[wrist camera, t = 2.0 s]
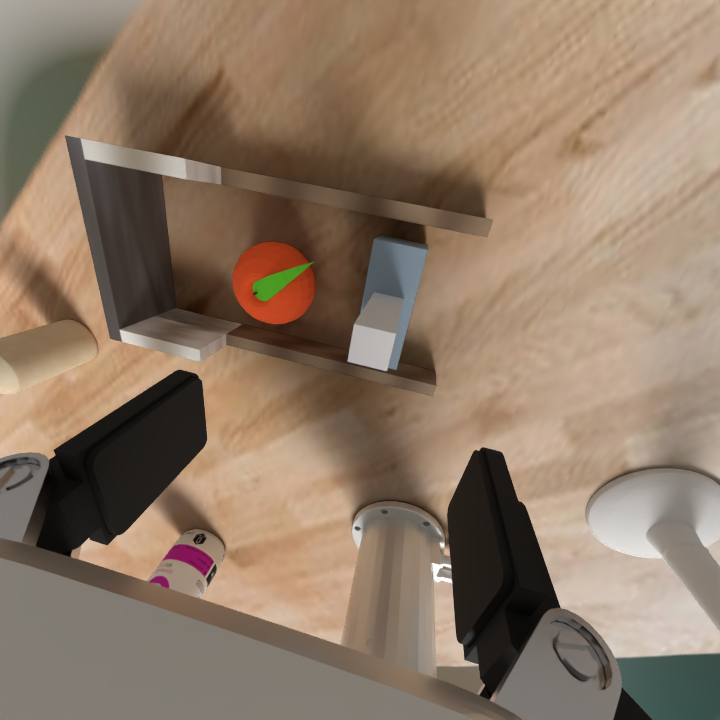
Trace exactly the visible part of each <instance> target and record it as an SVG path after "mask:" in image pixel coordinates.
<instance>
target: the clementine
mask: <svg viewBox="0 0 720 720" xmlns="http://www.w3.org/2000/svg"><path fill="white" fill-rule="evenodd" d="M312 263H314V262H311V263H309V262H308V261H307V260H306V258H305V257H304V256H303V255H302V254H301V253H300V252H299V251H298V250H297V249H295V248H293V247H291V246H289V245H287V244H284V243H278V242H272V241H271V242H262V243H259V244H257V245H255V246H253V247H251V248H249V249H247V250H246V251H245V252H244V253H243V254H242V255H241V256H240V258H239V260H238V262H237V264H236V266H235V268H234V272H233V276H232V278H233V289H234V292H235V296H236V298H237V300H238V301H239V303H240V305H241V306H242V307H243V309H244V310H245V311H246V312H247V313H248V314H250V315H251V316H252V317H253V318H255V319H258V320H260V321H262V322H266V323H271V324H285V323H288V322H291V321H293V320H296V319H297V318H299V317H300V316H302V315H303V314H304V313H305V312H306V310H307V309H308V308H309V306H310V305H311V303H312V301H313V298H314V296H315V289H316V282H315V276H314V273H313V270H312V268H311V264H312Z"/></svg>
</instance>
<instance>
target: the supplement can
mask: <svg viewBox="0 0 720 720" xmlns="http://www.w3.org/2000/svg"><path fill="white" fill-rule="evenodd" d="M224 557H225V551H224V545H223V543H222V542H221V541H220V539H219V538H217V537H216V536H215V535H213V534H212V533H210V532H208V531H205V530H202V529H193V530H189V531H186V532H184V533H183V534H182V535H181V536H180V538H179V539H178V540H177V542H176V543H175V544H174V546H173V547H172V548H171V550H170V551H169V552H168V554H167V555H166V556H165V558H164V559H163V560H162V562H161V563H160V564H159V566H158V567H157V568H156V570H155V571H154V572H153V574H152V575H151V576H150V578H149V579H148V580H147V582H150V583H153V584H156V585H160V586H163V587H166V588H169V589H172V590H175V591H178V592H181V593H184V594H187V595H190V596H193V597H196V598H199V599H201V597H202V596H203V594H204V592H205V591H206V589H207V587H208V585H209V584H210V582H211V580H212V578H213V577H214V575H215V573H216V572H217V570H218V568H219V566H220V565H221V563H222V561H223V560H224Z"/></svg>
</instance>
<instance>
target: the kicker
mask: <svg viewBox="0 0 720 720" xmlns="http://www.w3.org/2000/svg"><path fill="white" fill-rule="evenodd" d="M427 252H428V246H427V244H422V243H417V242H412V241H408V240H403V239H398V238H393V237H388V236H383V235H380V236H378V237H376V238H374V240H373V245H372V251H371V256H370V262H369V267H368V273H367V278H366V284H365V289H364V295H363V300H362V306H361V311H360V315H359V317H358V319H357V320H356V322H355V323H354V327H353V333H352V338H351V344H350V350H349V355H348V361H347V362H351V363H355V364H359V365H363V366H367V367H371V368H375V369H379V370H383V371H387V369H388V368H391V369H395V370H397V366H398V362H399V358H400V354H401V351H402V347H403V343H404V339H405V335H406V332H407V328H408V324H409V320H410V316H411V313H412V309H413V305H414V301H415V297H416V294H417V290H418V286H419V282H420V278H421V274H422V271H423V267H424V263H425V259H426V255H427Z"/></svg>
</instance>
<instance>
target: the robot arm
mask: <svg viewBox="0 0 720 720" xmlns="http://www.w3.org/2000/svg"><path fill="white" fill-rule="evenodd" d="M206 441H207V431H206V420H205V408H204V397H203V386H202V381H201V380H200V379H199V377H198V375H197V374H195V373H191V372H187V371H183V370H177V371H175V372H173V373H172V374H170V375H169V376H167V377H166V378H164V379H163V380H161V381H160V382H158V383H156V384H155V385H153V386H152V387H150V388H149V389H147V390H146V391H144V392H143V393H141V394H139V395H138V396H136V397H135V398H133V399H132V400H130V401H129V402H127V403H126V404H124V405H122V406H121V407H119V408H118V409H116V410H115V411H113V412H112V413H110V414H109V415H107V416H105V417H104V418H102V419H101V420H99V421H98V422H96V423H95V424H93V425H92V426H90V427H88V428H87V429H85V430H84V431H82V432H81V433H79V434H78V435H76V436H75V437H73V438H71V439H70V440H68V441H67V442H65V443H64V444H62V445H61V446H59V447H58V448H56V449H54V452H55V454H56V456H54V457H53V458H51V459H50V460H48V458H47V457H46V456H45V455H42V454H40V453H31V452H29V453H19V454H15V455H11V456H7V457H3V458H1V459H0V720H652V719H651V718H650V717H649V716H648V715H647V714H646V713H645V712H644V711H643V709H642V708H641V707H640V706H639V705H638V704H637V703H636V702H635V701H634V700H633V699H632V698H631V697H630V696H629V695H628V694H627V693H626V692H625V690H624V689H623V688H622V687H621V685H622V678H621V674H620V670H619V667H618V664H617V662H616V660H615V658H614V656H613V654H612V651H611V650H610V648H609V647H608V645H607V644H606V643H605V641H604V640H603V638H602V637H601V636H600V635H599V634H598V632H597V631H596V630H595V629H594V628H593V627H592V626H591V625H590V624H589V623H587V622H586V621H585V620H584V619H582V618H581V617H580V616H578V615H576V614H574V613H572V612H570V611H568V610H565V609H561V608H560V605H559V602H558V599H557V596H556V593H555V591H554V588H553V585H552V582H551V579H550V576H549V573H548V570H547V567H546V564H545V561H544V558H543V555H542V553H541V550H540V547H539V544H538V541H537V538H536V535H535V532H534V529H533V526H532V523H531V520H530V517H529V515H528V512H527V509H526V507H525V505H524V504H523V503H522V502H519V501H518V499H517V496H516V493H515V489H514V486H513V483H512V480H511V477H510V474H509V471H508V468H507V465H506V462H505V458H504V455H503V453H502V452H500V451H496V450H492V449H488V448H484V447H483V448H481V449H480V451H477V450H475V451H474V452H473V454H472V456H471V458H470V460H469V463H468V465H467V467H466V469H465V471H464V473H463V476H462V478H461V480H460V482H459V484H458V486H457V489H456V491H455V493H454V495H453V497H452V499H451V502H450V504H449V507H448V513H447V519H448V532H449V545H450V556H446V555H444V553H443V552H444V548H445V536H444V532H443V529H442V527H441V525H440V524H439V523H438V522H437V520H436V519H435V518H434V517H432V516H431V515H430V514H429V513H427V512H426V511H424V510H422V509H420V508H418V507H416V506H414V505H410V504H407V503H403V502H396V501H383V502H377V503H373V504H370V505H368V506H366V507H364V508H363V509H361V510H360V511H359V512H358V513H357V515H356V516H355V518H354V521H353V525H352V537H353V540H354V542H355V544H356V545H357V547H358V548H359V553H358V558H357V563H356V568H355V573H354V579H353V584H352V589H351V594H350V599H349V604H348V610H347V615H346V620H345V625H344V630H343V635H342V640H341V645H338V644H335V643H332V642H329V641H326V640H323V639H320V638H318V637H315V636H312V635H309V634H306V633H303V632H300V631H297V630H294V629H291V628H288V627H285V626H282V625H279V624H276V623H272V622H269V621H266V620H263V619H260V618H257V617H254V616H251V615H248V614H245V613H242V612H239V611H236V610H233V609H230V608H227V607H224V606H221V605H218V604H215V603H212V602H209V601H206V600H202V599H199V598H196V597H193V596H190V595H187V594H184V593H181V592H178V591H175V590H172V589H169V588H166V587H163V586H160V585H156V584H153V583H150V582H147V581H144V580H141V579H138V578H135V577H132V576H128V575H125V574H122V573H119V572H116V571H113V570H110V569H107V568H104V567H100V566H97V565H94V564H91V563H88V562H85V561H82V560H78V559H79V554H80V549H81V545H82V544H83V543H84V542H85V541H86V540H87V539H88V538H90V540H92V541H96V542H99V543H102V544H105V545H108V544H109V543H110V542H111V541H112V540H113V539H114V538H115V537H116V536H117V535H121V534H123V533H124V532H125V531H126V530H127V529H128V528H129V527H130V526H131V525H132V524H133V523H134V522H135V521H136V520H137V519H138V518H139V517H140V515H141V514H142V513H143V512H144V511H145V510H146V509H147V508H148V507H149V506H150V505H151V504H152V503H153V501H154V500H155V499H156V498H157V497H158V496H159V495H160V494H161V493H162V492H163V491H164V490H165V489H166V488H167V486H168V485H169V484H170V483H171V482H172V481H173V480H174V479H175V478H176V477H177V476H178V475H179V474H180V472H181V471H182V470H183V469H184V468H185V467H186V466H187V465H188V464H189V463H190V462H191V461H192V460H193V458H194V457H195V456H196V455H197V454H198V453H199V452H200V451H201V450H202V449H203V447H204V446H205V444H206ZM440 580H441V581H444V582H447V583H449V584H451V585H453V598H454V612H455V625H456V636H457V640H458V642H459V643H461V644H463V647H464V658H465V660H467V661H470V662H473V663H476V664H479V670H480V679H481V680H482V681H483V683H484V684H483V685H482V687H481V688H480V690H479V692H478V693H477V694H474V693H472V692H469V691H467V690H465V689H462V688H460V687H458V686H455V685H453V684H450V683H448V682H445V681H441V680H439V679H436V643H435V605H434V582H436V583H439V582H440Z"/></svg>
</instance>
